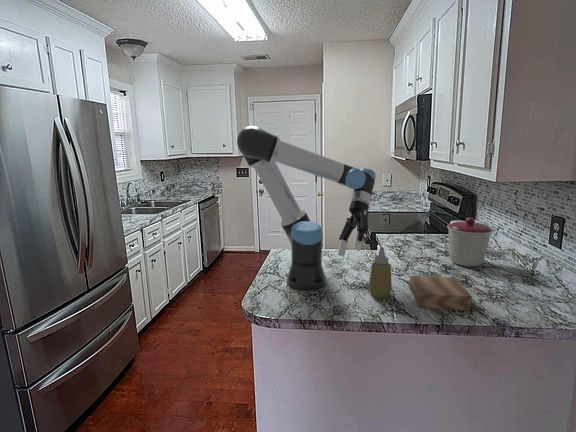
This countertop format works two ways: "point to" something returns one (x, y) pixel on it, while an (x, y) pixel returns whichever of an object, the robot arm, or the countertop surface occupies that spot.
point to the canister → (468, 242)
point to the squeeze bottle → (380, 276)
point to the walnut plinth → (439, 293)
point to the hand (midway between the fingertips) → (348, 252)
